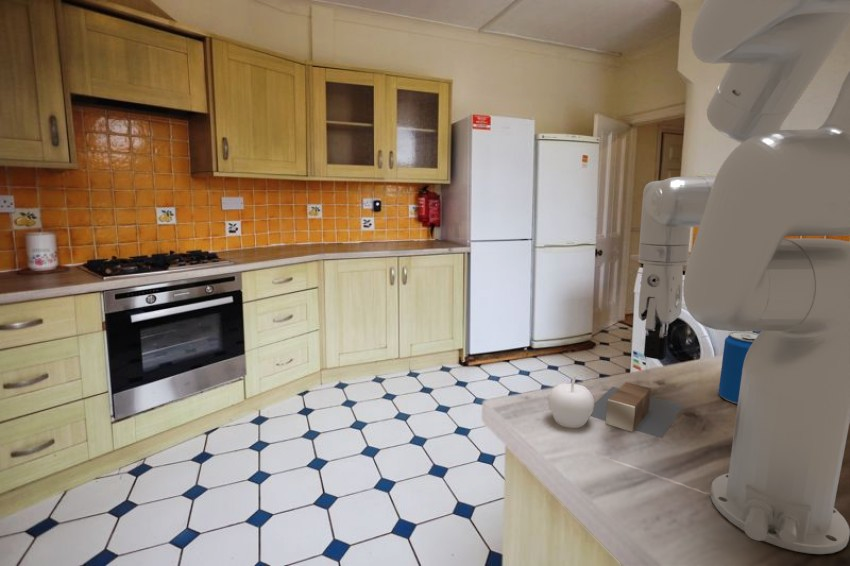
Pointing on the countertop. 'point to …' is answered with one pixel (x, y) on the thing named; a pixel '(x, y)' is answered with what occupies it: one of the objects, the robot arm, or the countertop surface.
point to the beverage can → (734, 363)
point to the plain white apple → (571, 404)
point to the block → (628, 406)
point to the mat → (655, 418)
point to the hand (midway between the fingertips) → (654, 357)
